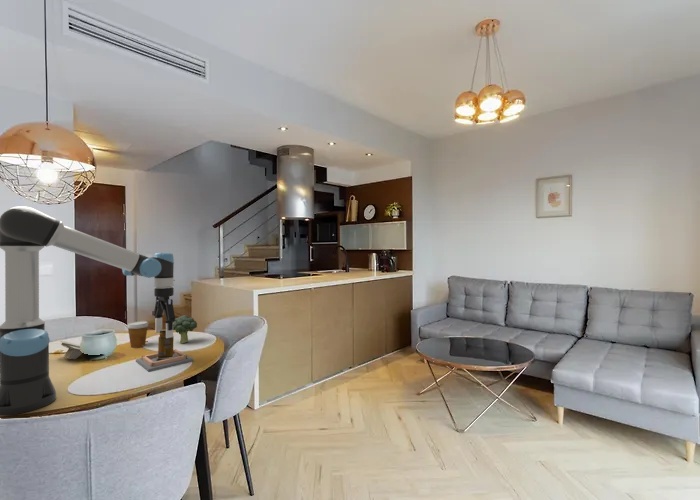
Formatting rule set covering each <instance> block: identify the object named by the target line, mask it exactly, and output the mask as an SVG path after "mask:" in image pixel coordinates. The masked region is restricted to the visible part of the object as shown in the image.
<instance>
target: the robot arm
mask: <svg viewBox="0 0 700 500" xmlns="http://www.w3.org/2000/svg"><path fill="white" fill-rule="evenodd" d="M49 246H53V247H56V248H59V249H62V250H64V251H68V252H70V253H74V254H77V255H79V256H83V257H85V258H89V259H91V260H95V261H98V262H101V263H104V264H105V265H106V264H107V265H109V266H113V267H116V268H118V269H121V271H122V275H124V276H125V277H126V276H129V277H130V276H132V277H134V276H140V277H143V278H149V279H150V278H154V280H153V281H154V282H153V285H154V287H155V288H154V297H155V304H154V309H153V317H154V318H155V323H154V324H155V329H154V330H155V334H156V333H157V334H158V333H160V331H163V318H164V316H165V320H166V321H165V323H164V324H165V330H166V338H171V337H173V336H174V330H173V322H174V321H175V319H176V316H175V310H174V303H173V298H171V299H170V297H172V296H174V294H175V293H174V292H175V289H174V287H173V286H174V282H175V279H174V269H175V267H174V265H175V262H174V261H175V259H174V255H173V253H172V252H156V253H154V255H153V257H148V256H145V255H143V254H140V253H137V252H135V251H132V250H129V249H127V248H125V247H121V246H119V245H116V244H114V243H112V242H109V241H107V240H103V239H101V238H98V237H96V236H93V235H90V234H88V233H85V232H82V231H79V230H77V229H75V228H72V227H70V226H66V225H64V224H63V222H62V220H60V219H57V218H55V217H51V216H50V215H48V214H45V213H43V212H42V211H39V210H38V209H35V208H33V207H30V206H21V205H20V206H19V205H18V206H13V207H11V208H9V209H7V210H5V211H3V213H2V214H1V215H0V249H1V250H3V251H4V259H5V260H4V262H5V263H4V264H5V265H4V268H5V269H4V270H5V272H4V274H5V275H4V278H5V279H4V280H5V282H4V285H5V286H4V287H5V289H4V290H5V291H4V292H5V294H4V295H5V299H4V300H5V304H4V306H5V309H4V311H5V315H4V316H5V321H4V322H2V324H0V416H13V415H19V414H23V413H27V412H28V413H29V412H31V411H35V410H37V409H41V408H44V407H45V406H47V405H50V404H51V403H53V402H54V401H55V400H56V398H57V390H56V388H55V386H54V384H53V382H52V379H51V377H50V359H49V358H50V353H49V352H50V351H49V350H50V345H49V344H50V337H49V333H48V331H46V329H45V327H46V326H45V321H44V320H42V319H41V318H40V258H39V257H40V251H41V250H42V249H44V248H45V247H49ZM163 313H164V315H163Z"/></svg>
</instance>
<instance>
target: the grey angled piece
mask: <svg viewBox="0 0 700 500" xmlns="http://www.w3.org/2000/svg"><path fill="white" fill-rule="evenodd" d="M57 341H58V342H60V344H61V346H62V347H64V348H67V351H65V354H64V358H66V359H69V360H70V359H71V360H77V358H79V357H80V356H81V355H82V354H83V353H81V351H80V350H81V349H80V345H81V344H76V343H73V342H68V341H65V340H64V341H63V340H60V339H57Z"/></svg>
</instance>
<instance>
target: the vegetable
mask: <svg viewBox="0 0 700 500" xmlns="http://www.w3.org/2000/svg"><path fill="white" fill-rule="evenodd" d="M197 325H198V323H197V321H196V320H195V319H194V317H191V316H189V315H185V314H182V315H180V316H179V317H175V321H174V322H173V331H175V333H177V334H179V335H180V341H179V343H180V344H184V343H188V342H189V336H188V333H189V332H188V331H190V332H193V331H194V329H196V328H198V326H197Z"/></svg>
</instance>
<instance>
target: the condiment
mask: <svg viewBox="0 0 700 500" xmlns="http://www.w3.org/2000/svg"><path fill="white" fill-rule="evenodd" d="M174 337H175V336H174V335H173V337H171V338H166V329H165V330H163V329H162V331H160V332H159V336H158V341H157V342H158V347H157V353H158V357H157V358H155V359H164V358H172V357H174V356H173V350H174V340H175V339H174Z"/></svg>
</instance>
